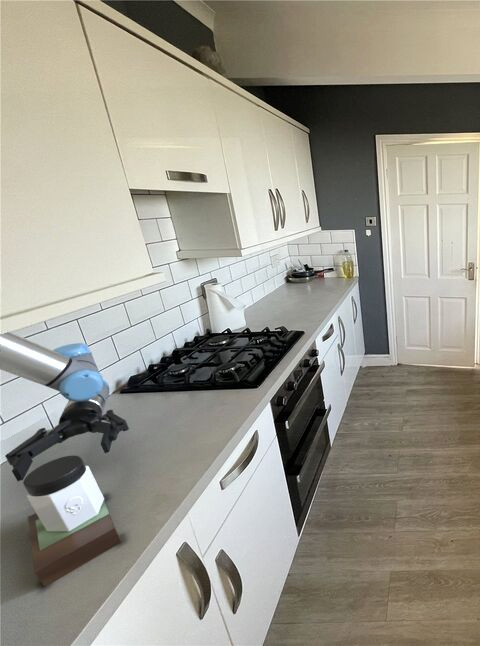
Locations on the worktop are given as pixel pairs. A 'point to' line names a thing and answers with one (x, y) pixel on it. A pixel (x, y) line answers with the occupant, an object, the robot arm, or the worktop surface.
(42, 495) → the jar
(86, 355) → the robot arm
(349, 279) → the worktop surface
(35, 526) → the green-topped wooden base
